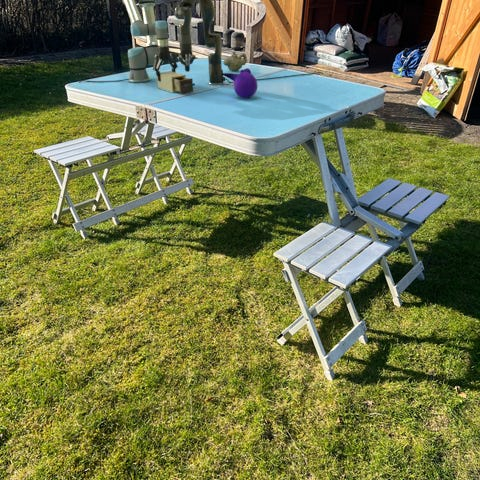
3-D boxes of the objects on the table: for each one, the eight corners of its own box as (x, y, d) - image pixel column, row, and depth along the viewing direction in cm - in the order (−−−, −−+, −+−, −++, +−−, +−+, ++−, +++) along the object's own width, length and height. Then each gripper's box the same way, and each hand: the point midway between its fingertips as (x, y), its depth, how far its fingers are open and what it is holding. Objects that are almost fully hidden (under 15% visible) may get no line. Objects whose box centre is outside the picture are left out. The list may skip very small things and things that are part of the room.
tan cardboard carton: (186, 90, 309) (185, 74, 304) (172, 92, 303) (171, 77, 298) (171, 85, 323) (170, 71, 317) (158, 88, 317) (156, 73, 312)
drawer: (197, 92, 298) (196, 79, 294) (185, 94, 293) (184, 81, 289) (178, 86, 314) (177, 74, 310) (166, 88, 309) (165, 76, 305)
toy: (243, 90, 304) (257, 103, 283) (218, 85, 297) (231, 99, 276) (249, 66, 296) (264, 78, 275) (224, 61, 289) (238, 73, 268)
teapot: (227, 73, 359) (226, 53, 351) (220, 71, 367) (219, 51, 360) (250, 70, 368) (249, 51, 360) (242, 68, 376) (242, 49, 369)
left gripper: (150, 48, 295) (154, 82, 306) (181, 44, 307) (183, 78, 318) (145, 47, 300) (149, 81, 311) (175, 43, 312) (178, 76, 323)
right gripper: (179, 43, 275) (181, 73, 284) (197, 42, 282) (199, 70, 291) (173, 42, 280) (175, 72, 289) (191, 41, 287) (193, 69, 296)
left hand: (166, 79), depth 315 cm, fingers closed on tan cardboard carton, 11 cm apart
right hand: (187, 71), depth 290 cm, fingers closed
